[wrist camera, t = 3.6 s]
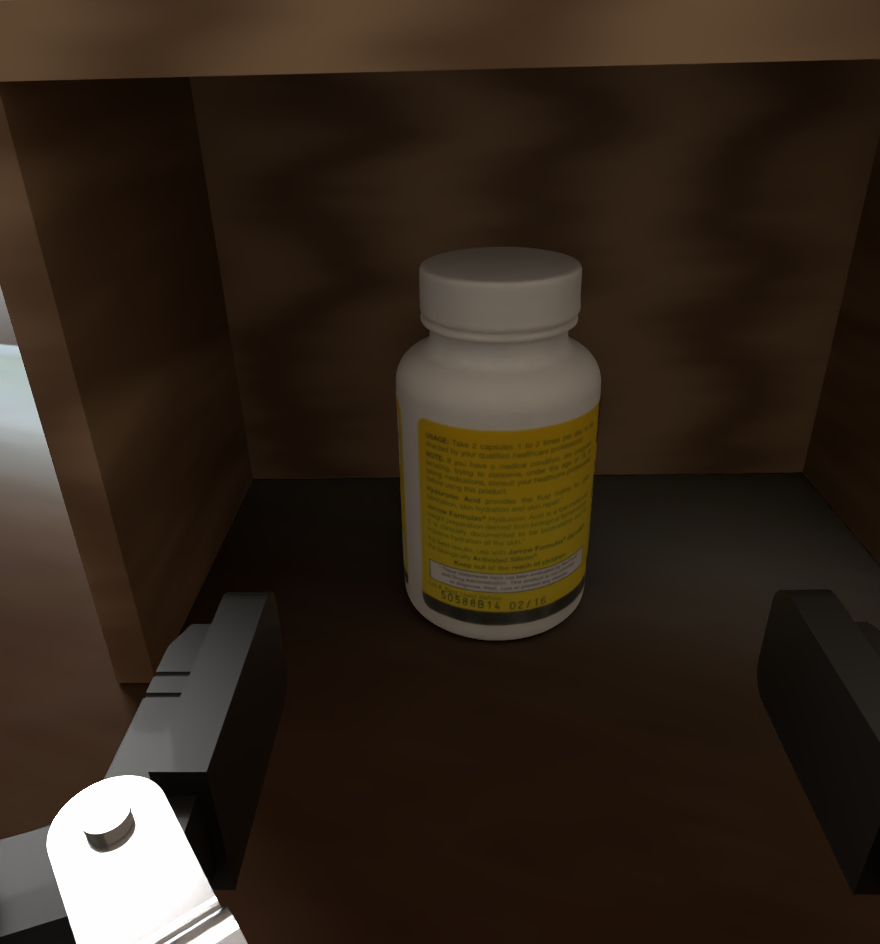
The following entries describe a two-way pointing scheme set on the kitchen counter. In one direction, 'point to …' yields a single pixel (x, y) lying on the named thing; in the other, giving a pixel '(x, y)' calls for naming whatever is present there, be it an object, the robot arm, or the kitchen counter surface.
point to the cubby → (425, 243)
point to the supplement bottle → (497, 443)
